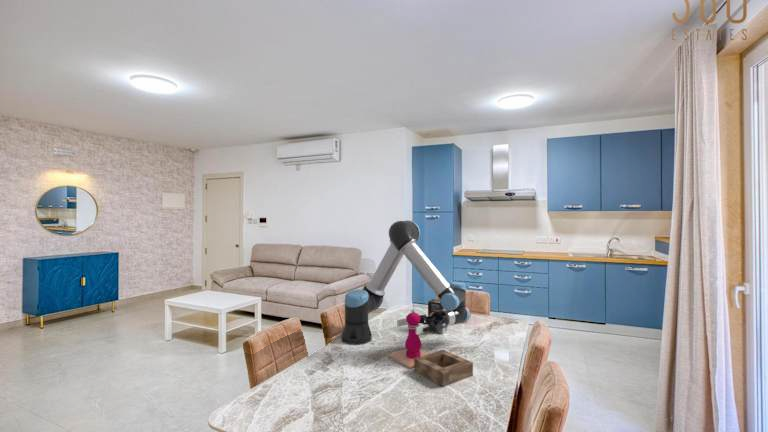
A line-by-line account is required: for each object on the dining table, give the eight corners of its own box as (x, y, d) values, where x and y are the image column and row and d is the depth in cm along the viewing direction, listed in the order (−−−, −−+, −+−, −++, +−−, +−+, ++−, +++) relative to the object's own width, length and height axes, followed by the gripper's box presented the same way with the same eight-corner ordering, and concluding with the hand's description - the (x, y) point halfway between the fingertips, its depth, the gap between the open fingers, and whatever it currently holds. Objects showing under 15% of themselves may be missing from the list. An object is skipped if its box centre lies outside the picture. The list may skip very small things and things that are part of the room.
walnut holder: (414, 370, 139) (414, 358, 139) (442, 361, 148) (443, 349, 148) (443, 387, 126) (443, 373, 126) (472, 375, 135) (472, 362, 135)
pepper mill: (420, 359, 147) (420, 312, 147) (403, 358, 149) (403, 311, 149) (422, 353, 154) (422, 307, 155) (406, 351, 156) (406, 306, 156)
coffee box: (427, 331, 187) (427, 301, 188) (432, 328, 193) (432, 298, 193) (443, 334, 183) (443, 303, 183) (447, 331, 188) (447, 301, 188)
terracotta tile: (387, 356, 154) (387, 353, 154) (415, 348, 163) (415, 346, 163) (410, 369, 140) (410, 366, 140) (439, 359, 150) (439, 357, 150)
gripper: (462, 334, 152) (425, 344, 140) (425, 320, 172) (389, 328, 159) (462, 316, 152) (425, 325, 140) (425, 305, 172) (389, 312, 159)
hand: (406, 327), depth 150 cm, fingers open, 12 cm apart
